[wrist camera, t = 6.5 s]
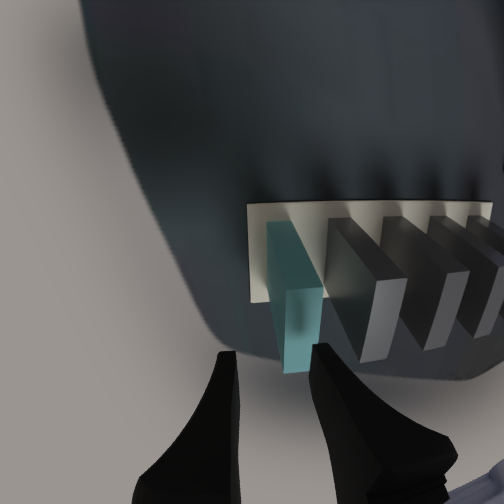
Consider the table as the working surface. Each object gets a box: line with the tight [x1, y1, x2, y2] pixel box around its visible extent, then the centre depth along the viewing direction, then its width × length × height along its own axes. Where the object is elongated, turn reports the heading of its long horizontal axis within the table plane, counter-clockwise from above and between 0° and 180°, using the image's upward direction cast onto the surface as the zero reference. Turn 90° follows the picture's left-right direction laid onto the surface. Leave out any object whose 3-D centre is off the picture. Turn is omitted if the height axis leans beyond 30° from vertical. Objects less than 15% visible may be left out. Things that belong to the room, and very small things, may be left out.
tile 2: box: [324, 217, 407, 363], centre depth 18 cm, size 2×5×8 cm, turn 2°
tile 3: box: [380, 216, 470, 351], centre depth 18 cm, size 2×5×8 cm, turn 2°
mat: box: [247, 200, 493, 303], centre depth 22 cm, size 20×7×1 cm, turn 92°
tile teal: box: [266, 221, 324, 373], centre depth 18 cm, size 2×5×8 cm, turn 2°
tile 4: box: [427, 216, 504, 339], centre depth 18 cm, size 2×5×8 cm, turn 2°
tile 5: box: [466, 215, 504, 319], centre depth 19 cm, size 2×5×8 cm, turn 2°
